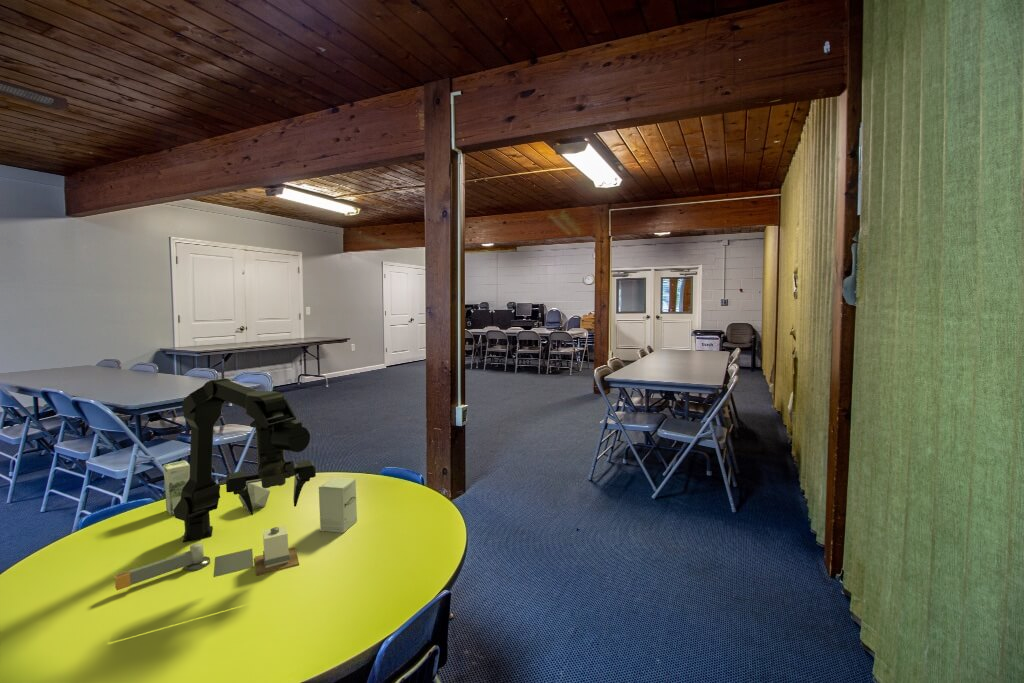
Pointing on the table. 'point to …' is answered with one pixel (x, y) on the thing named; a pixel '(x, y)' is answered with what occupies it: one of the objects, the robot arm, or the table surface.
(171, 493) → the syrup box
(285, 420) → the robot arm
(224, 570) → the socket plate
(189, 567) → the clip base
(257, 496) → the die
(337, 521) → the supplement box
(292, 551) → the walnut pad
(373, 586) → the table surface
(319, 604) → the table surface
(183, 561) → the bar
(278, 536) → the beige tall block
